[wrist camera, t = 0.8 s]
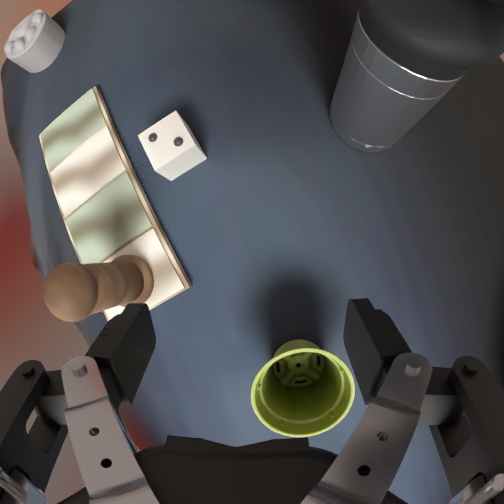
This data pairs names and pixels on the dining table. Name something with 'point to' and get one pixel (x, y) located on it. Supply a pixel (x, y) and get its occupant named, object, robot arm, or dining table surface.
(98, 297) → the pawn
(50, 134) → the game board
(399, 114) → the robot arm
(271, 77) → the dining table surface
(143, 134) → the die
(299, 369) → the plant pot
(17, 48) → the lumpy-topped squat cylinder
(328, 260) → the dining table surface
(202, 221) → the dining table surface
